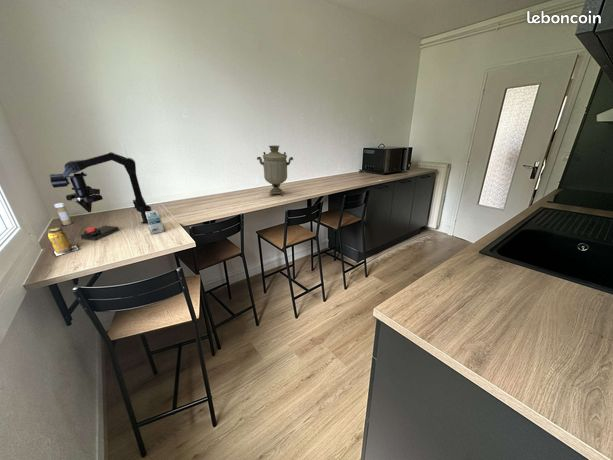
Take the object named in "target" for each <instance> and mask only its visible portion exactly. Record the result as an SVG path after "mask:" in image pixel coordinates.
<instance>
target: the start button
mask: <svg viewBox="0 0 613 460" xmlns="http://www.w3.org/2000/svg"><path fill="white" fill-rule="evenodd" d="M96 228H97V227H95V226H89V227H86V228H85V231H87V233H89V232H94V231H96Z"/></svg>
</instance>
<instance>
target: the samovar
mask: <svg viewBox="0 0 613 460" xmlns="http://www.w3.org/2000/svg"><path fill="white" fill-rule="evenodd" d="M268 147H269V150H270V152H269V153H266V151H263V152H262V154H263V155H262V156H257V157H256V160H258V161H259V164H260V165H261V166H263V177H264V180H265V182H267V183H269V184H271V187H272V188H271V189H270V191H269V193H270V194H269V197H273V195H280V196H284V194H283V192H284V191H283V189H281V188H280V187H281V185H282V184H283V183H285V182H286V181H287V179H288V166H290V164H291V162H292V161H293V160H294V157H293V156H291V157H289V158H288V161H287V157H288V155H287V152H286V151H284V152H283V153H281V152H280V151H279V149H280V145H277V144H276V145H275V144H274V145H268Z"/></svg>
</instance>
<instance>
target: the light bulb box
mask: <svg viewBox="0 0 613 460" xmlns="http://www.w3.org/2000/svg"><path fill="white" fill-rule="evenodd" d="M145 213H146V217H147V220H148V223H149V224H148V226H149V229H150V232H151V234H152V235H154V234H155V235H156V234H159V233H163V232H165V228H164V224H163V220H162V217H161V213H160V212H159V210H158V209H155V210H152V211H147V212H145Z"/></svg>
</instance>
